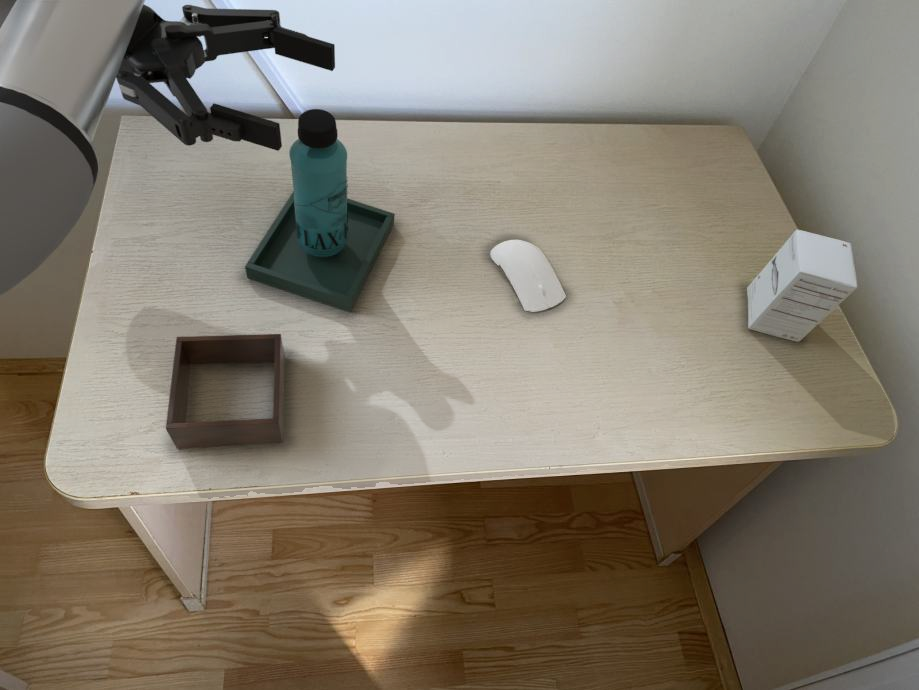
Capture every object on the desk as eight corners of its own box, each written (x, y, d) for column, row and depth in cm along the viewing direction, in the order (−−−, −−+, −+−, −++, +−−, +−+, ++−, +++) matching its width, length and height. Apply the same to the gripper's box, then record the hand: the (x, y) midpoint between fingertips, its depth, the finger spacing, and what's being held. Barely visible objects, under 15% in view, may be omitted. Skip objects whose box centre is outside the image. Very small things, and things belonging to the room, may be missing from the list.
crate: (176, 449, 69) (165, 428, 65) (186, 360, 75) (176, 336, 71) (283, 443, 71) (278, 423, 67) (284, 357, 77) (280, 333, 72)
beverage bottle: (288, 256, 83) (272, 128, 67) (311, 220, 87) (301, 91, 70) (336, 273, 83) (331, 149, 66) (357, 236, 87) (358, 110, 70)
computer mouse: (527, 316, 84) (531, 306, 82) (482, 249, 89) (485, 238, 88) (570, 300, 87) (575, 289, 85) (524, 235, 92) (527, 224, 90)
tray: (350, 312, 81) (350, 301, 79) (247, 278, 82) (244, 266, 80) (393, 225, 90) (394, 213, 88) (300, 194, 90) (299, 182, 88)
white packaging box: (744, 287, 92) (795, 226, 82) (796, 301, 92) (854, 241, 82) (745, 330, 88) (799, 271, 78) (799, 344, 88) (860, 287, 78)
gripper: (180, 8, 77) (352, 60, 76) (48, 141, 63) (257, 206, 62) (164, -60, 71) (352, -4, 70) (15, 72, 57) (246, 143, 56)
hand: (308, 95), depth 66 cm, fingers open, 13 cm apart
